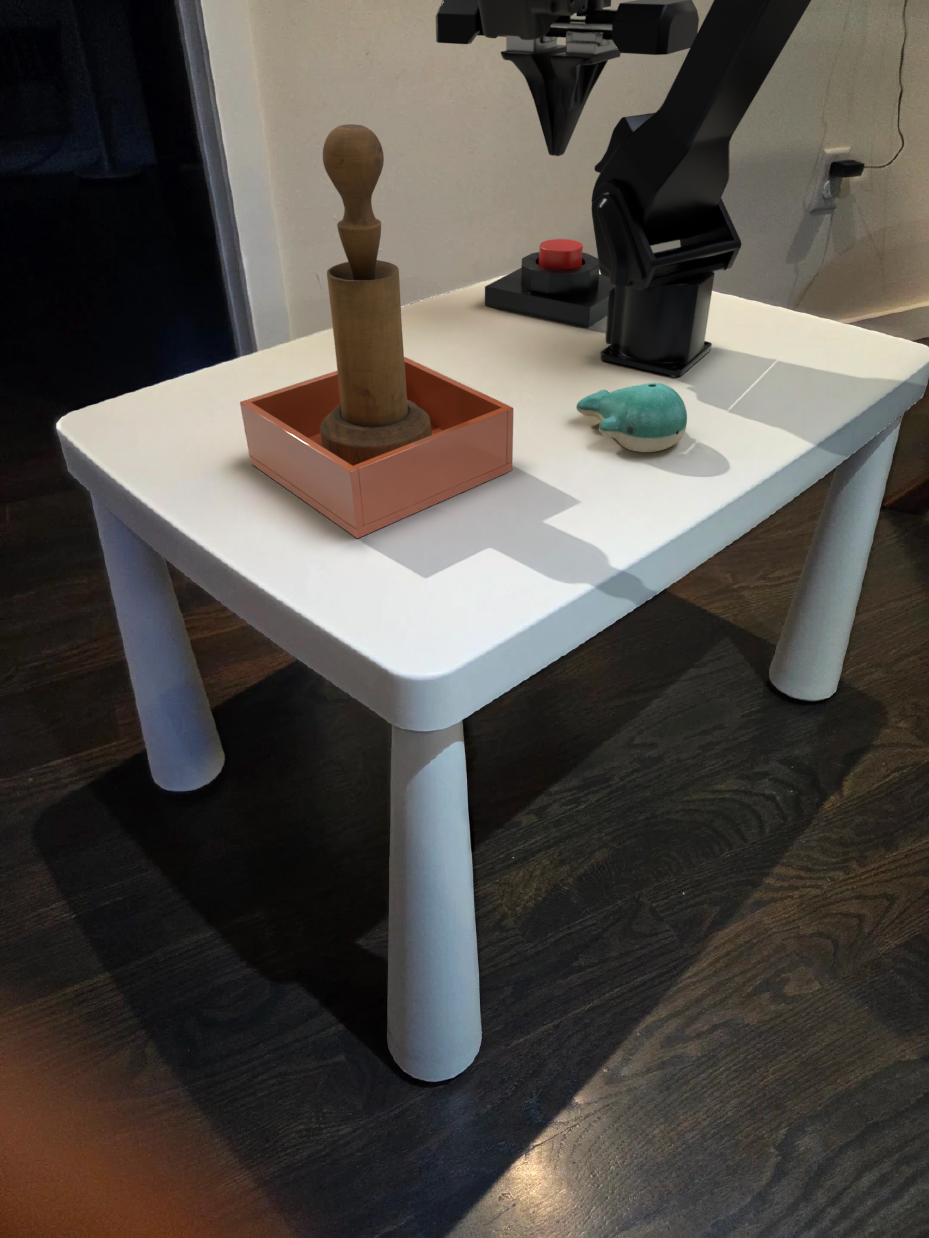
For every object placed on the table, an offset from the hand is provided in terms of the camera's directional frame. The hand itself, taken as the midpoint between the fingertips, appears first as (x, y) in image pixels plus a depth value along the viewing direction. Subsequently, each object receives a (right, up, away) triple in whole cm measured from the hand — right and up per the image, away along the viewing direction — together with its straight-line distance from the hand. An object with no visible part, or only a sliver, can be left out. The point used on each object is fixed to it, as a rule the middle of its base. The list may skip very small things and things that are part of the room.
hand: (556, 155), depth 71 cm
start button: (+1, -6, +6) cm, 9 cm away
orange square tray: (-12, -27, -15) cm, 33 cm away
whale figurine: (+3, -24, -12) cm, 27 cm away
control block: (+1, -9, +8) cm, 12 cm away
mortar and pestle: (-12, -26, -15) cm, 33 cm away
